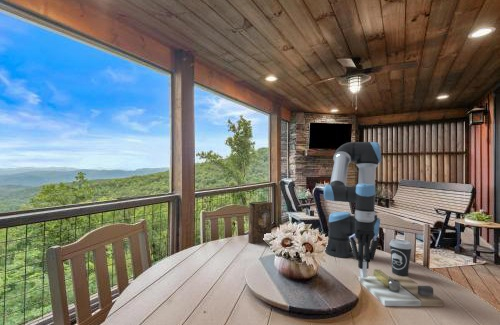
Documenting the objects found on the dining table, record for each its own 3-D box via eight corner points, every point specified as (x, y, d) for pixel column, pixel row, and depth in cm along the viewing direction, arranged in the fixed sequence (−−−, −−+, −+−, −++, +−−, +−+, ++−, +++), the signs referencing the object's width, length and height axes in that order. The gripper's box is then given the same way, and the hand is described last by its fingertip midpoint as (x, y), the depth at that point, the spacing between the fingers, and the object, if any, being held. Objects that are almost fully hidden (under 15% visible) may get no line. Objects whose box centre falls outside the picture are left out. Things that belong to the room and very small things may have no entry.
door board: (358, 280, 113) (358, 269, 113) (407, 281, 114) (407, 269, 114) (384, 306, 93) (384, 292, 93) (443, 306, 94) (443, 292, 94)
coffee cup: (415, 278, 116) (416, 245, 117) (392, 276, 118) (393, 243, 119) (407, 270, 126) (407, 239, 126) (385, 268, 128) (386, 237, 128)
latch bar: (372, 275, 113) (372, 268, 113) (381, 275, 113) (381, 268, 113) (391, 291, 98) (392, 283, 98) (402, 291, 99) (402, 283, 99)
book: (252, 244, 160) (253, 204, 160) (246, 242, 164) (248, 202, 164) (271, 239, 171) (272, 202, 171) (265, 237, 175) (266, 201, 175)
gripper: (353, 222, 105) (351, 279, 105) (384, 222, 106) (383, 280, 106) (345, 218, 113) (344, 272, 113) (375, 218, 113) (373, 272, 113)
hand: (363, 276), depth 109 cm, fingers closed
